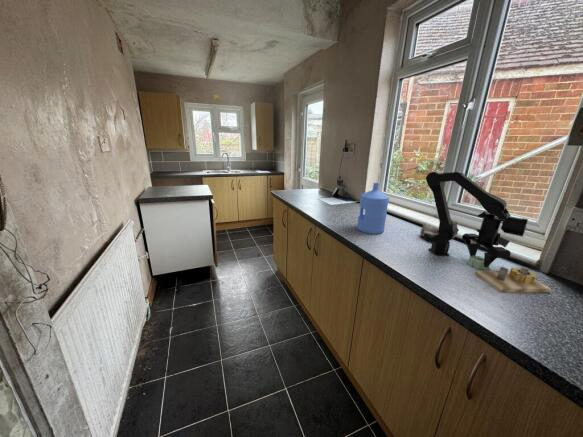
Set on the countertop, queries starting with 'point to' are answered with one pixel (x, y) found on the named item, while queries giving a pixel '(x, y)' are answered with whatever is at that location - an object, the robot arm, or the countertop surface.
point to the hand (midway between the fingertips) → (478, 262)
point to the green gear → (477, 262)
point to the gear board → (510, 281)
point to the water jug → (373, 211)
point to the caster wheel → (428, 232)
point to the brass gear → (522, 276)
